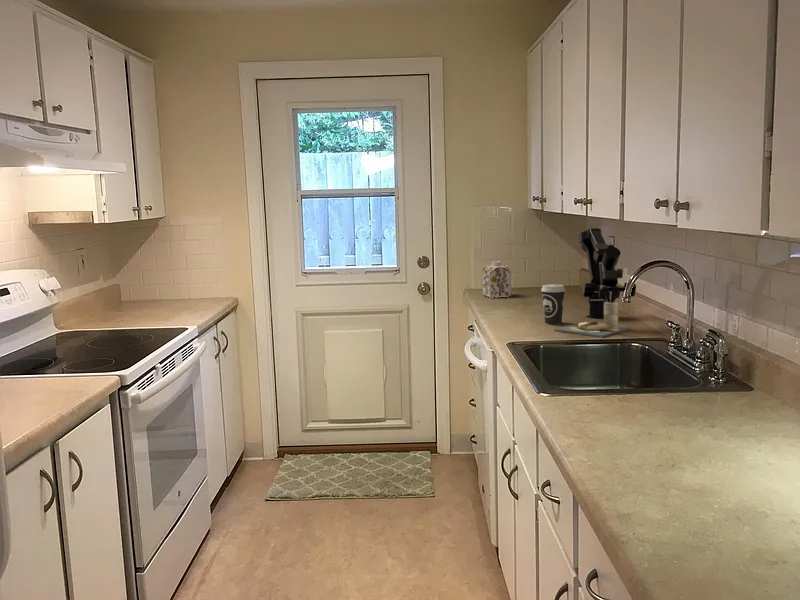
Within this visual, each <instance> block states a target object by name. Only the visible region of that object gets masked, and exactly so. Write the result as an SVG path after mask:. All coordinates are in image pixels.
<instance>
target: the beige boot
mask: <svg viewBox="0 0 800 600" xmlns="http://www.w3.org/2000/svg"><path fill="white" fill-rule="evenodd" d="M578 323H579V329H582V330H608V331H619V327H618V326H619V303H618V302H614V303H609V302H605V303H604V317H603V322H601V321H596V320H589V321H582V322H578Z"/></svg>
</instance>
